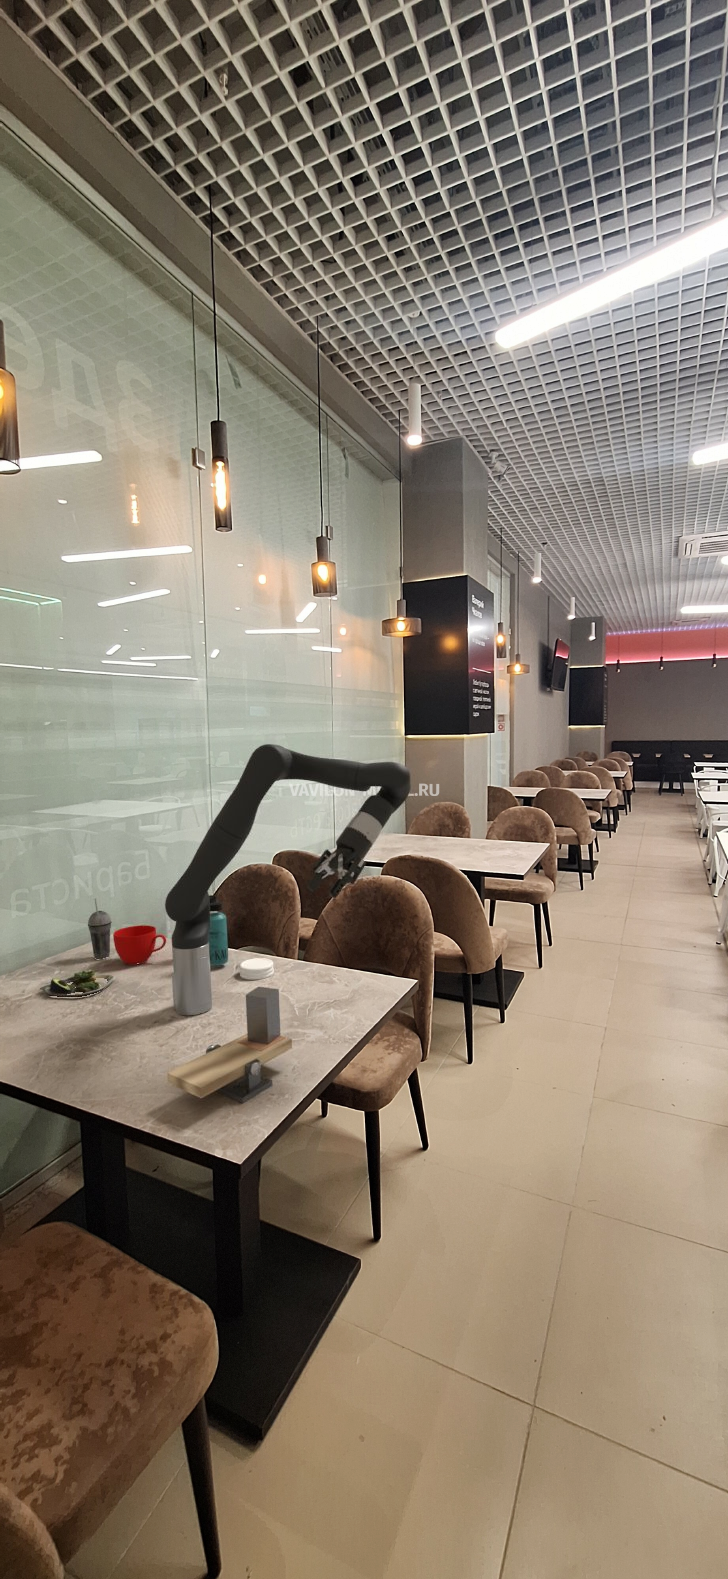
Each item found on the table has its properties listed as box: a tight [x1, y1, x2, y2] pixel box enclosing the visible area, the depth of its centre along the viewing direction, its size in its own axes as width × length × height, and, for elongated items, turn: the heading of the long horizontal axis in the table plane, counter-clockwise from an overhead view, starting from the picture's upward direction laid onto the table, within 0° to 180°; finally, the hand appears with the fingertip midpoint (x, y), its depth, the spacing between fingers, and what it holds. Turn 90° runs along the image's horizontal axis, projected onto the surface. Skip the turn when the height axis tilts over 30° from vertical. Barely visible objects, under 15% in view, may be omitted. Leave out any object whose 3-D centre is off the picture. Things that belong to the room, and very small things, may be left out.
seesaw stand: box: [205, 1044, 273, 1104], centre depth 135 cm, size 14×8×6 cm, turn 53°
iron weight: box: [245, 986, 282, 1045], centre depth 141 cm, size 5×5×10 cm
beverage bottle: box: [209, 901, 229, 966], centre depth 205 cm, size 6×7×20 cm
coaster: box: [239, 957, 275, 981], centre depth 198 cm, size 10×10×4 cm
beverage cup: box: [87, 898, 112, 959], centre depth 217 cm, size 7×7×20 cm
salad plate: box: [38, 969, 115, 997], centre depth 193 cm, size 19×18×5 cm
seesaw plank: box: [166, 1033, 293, 1099], centre depth 134 cm, size 10×24×2 cm, turn 143°
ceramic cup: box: [112, 924, 167, 965], centre depth 213 cm, size 13×17×10 cm
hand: (320, 892), depth 149 cm, fingers open, 8 cm apart
